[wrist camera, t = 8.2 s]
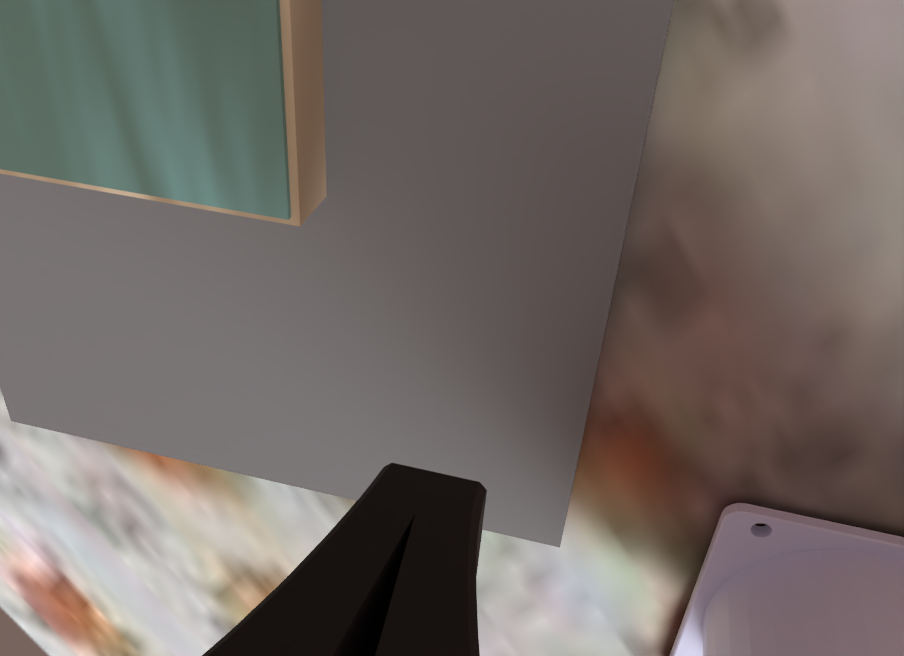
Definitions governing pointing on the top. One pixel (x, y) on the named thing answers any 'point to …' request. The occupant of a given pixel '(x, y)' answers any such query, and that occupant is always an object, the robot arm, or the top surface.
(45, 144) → the brown framed teal panel
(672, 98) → the top surface
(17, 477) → the top surface
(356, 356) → the rubber mat
